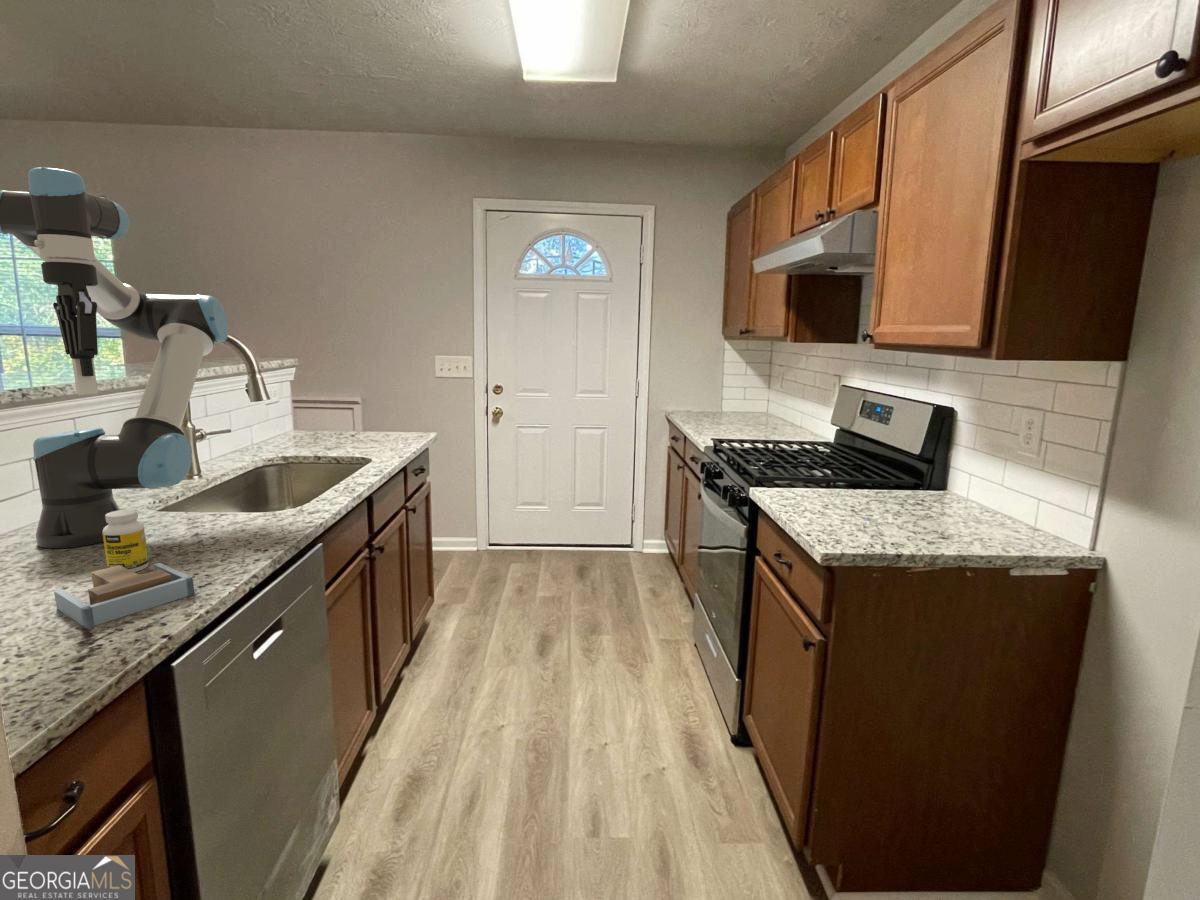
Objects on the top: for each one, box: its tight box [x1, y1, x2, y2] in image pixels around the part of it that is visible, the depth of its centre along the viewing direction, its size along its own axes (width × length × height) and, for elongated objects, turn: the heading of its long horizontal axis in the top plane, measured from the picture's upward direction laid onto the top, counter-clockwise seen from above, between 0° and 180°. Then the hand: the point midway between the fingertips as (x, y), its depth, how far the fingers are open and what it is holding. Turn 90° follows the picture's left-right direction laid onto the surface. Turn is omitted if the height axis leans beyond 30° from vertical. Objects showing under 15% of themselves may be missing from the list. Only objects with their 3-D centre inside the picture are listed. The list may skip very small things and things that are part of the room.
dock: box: [53, 562, 195, 629], centre depth 102 cm, size 12×15×3 cm
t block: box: [87, 565, 171, 605], centre depth 103 cm, size 12×10×4 cm
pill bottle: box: [103, 509, 149, 573], centre depth 115 cm, size 6×6×11 cm
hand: (87, 393), depth 115 cm, fingers closed
